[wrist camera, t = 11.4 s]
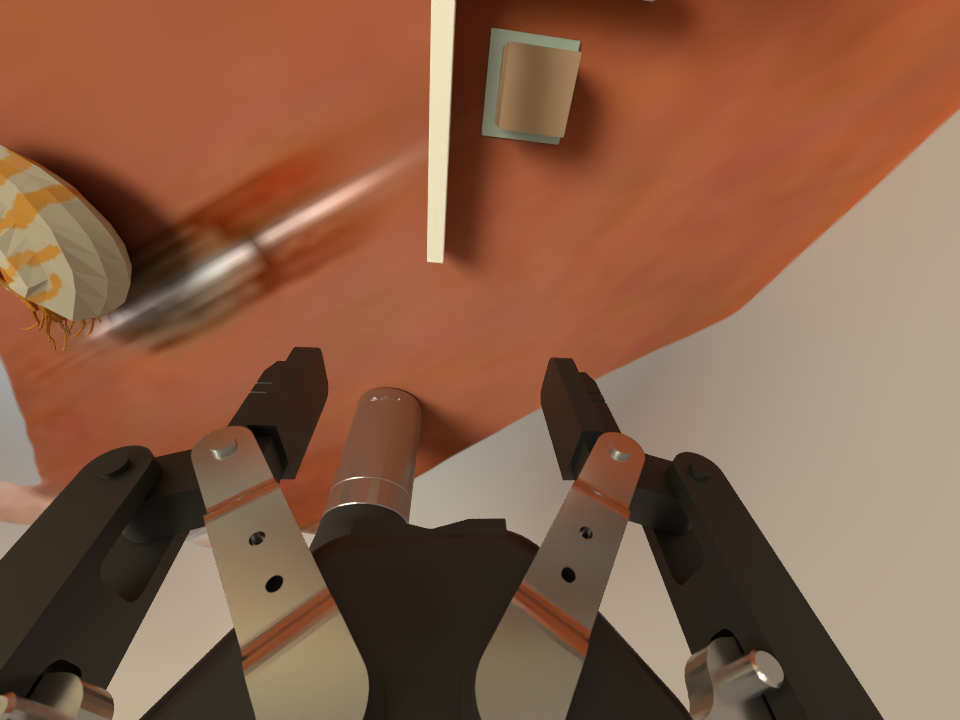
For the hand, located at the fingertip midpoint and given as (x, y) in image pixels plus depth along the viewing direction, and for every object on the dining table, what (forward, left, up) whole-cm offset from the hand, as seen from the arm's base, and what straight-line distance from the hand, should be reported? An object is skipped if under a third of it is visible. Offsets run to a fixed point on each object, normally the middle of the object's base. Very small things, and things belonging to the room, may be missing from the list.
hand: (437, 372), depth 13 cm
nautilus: (-9, +38, -28) cm, 48 cm away
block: (+8, -6, -27) cm, 29 cm away
